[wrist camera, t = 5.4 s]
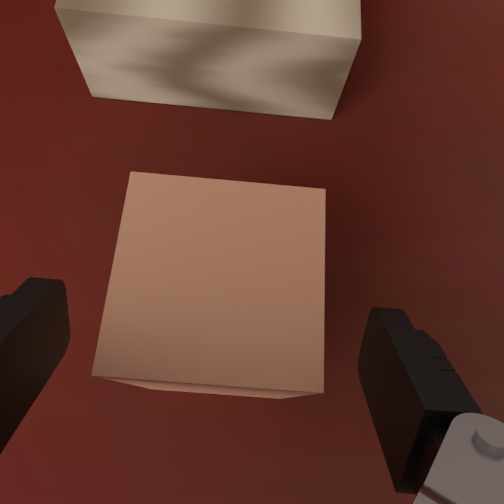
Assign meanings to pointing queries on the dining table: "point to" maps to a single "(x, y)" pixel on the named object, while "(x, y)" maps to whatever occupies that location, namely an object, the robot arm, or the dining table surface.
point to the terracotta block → (216, 288)
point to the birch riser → (217, 52)
